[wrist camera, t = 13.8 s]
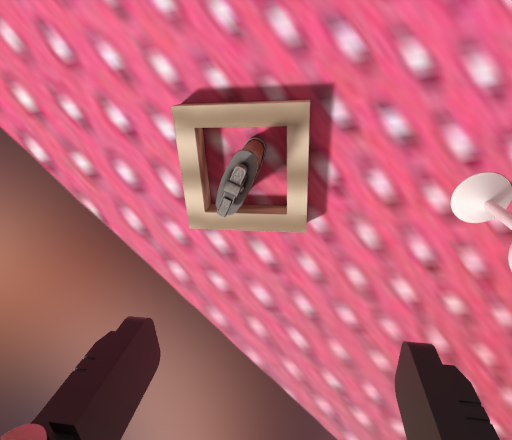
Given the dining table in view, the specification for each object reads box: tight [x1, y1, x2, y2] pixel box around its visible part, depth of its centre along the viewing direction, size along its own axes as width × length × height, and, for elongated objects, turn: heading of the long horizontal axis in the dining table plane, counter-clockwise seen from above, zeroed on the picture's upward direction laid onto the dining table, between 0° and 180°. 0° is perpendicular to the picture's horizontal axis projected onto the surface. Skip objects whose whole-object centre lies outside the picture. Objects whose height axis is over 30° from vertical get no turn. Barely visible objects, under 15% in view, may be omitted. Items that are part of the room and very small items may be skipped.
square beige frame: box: [171, 100, 310, 233], centre depth 40 cm, size 16×16×3 cm
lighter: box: [216, 137, 266, 218], centre depth 37 cm, size 8×3×10 cm, turn 157°
